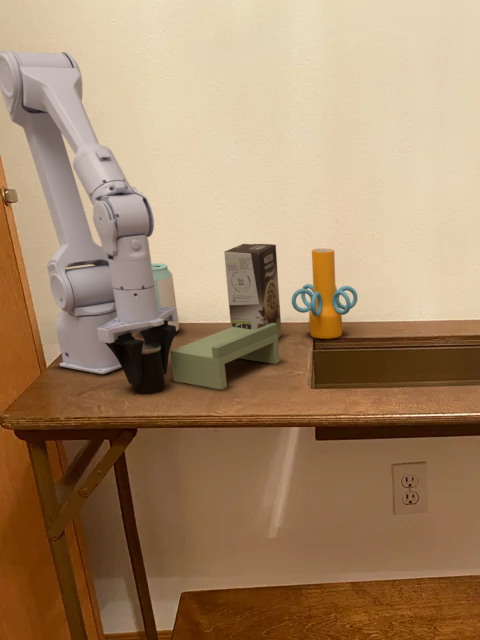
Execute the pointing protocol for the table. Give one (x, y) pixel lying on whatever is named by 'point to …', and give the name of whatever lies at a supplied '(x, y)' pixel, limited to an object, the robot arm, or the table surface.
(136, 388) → the canister
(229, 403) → the table surface
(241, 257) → the coffee box
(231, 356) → the shelf
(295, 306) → the orange and blue post
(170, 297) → the can
